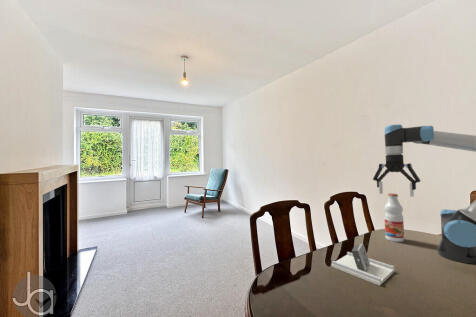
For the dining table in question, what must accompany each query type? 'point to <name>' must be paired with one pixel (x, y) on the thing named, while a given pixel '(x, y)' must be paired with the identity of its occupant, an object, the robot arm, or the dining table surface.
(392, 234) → the fruit juice
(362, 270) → the white tray
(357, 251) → the electrical switch
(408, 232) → the dining table surface
